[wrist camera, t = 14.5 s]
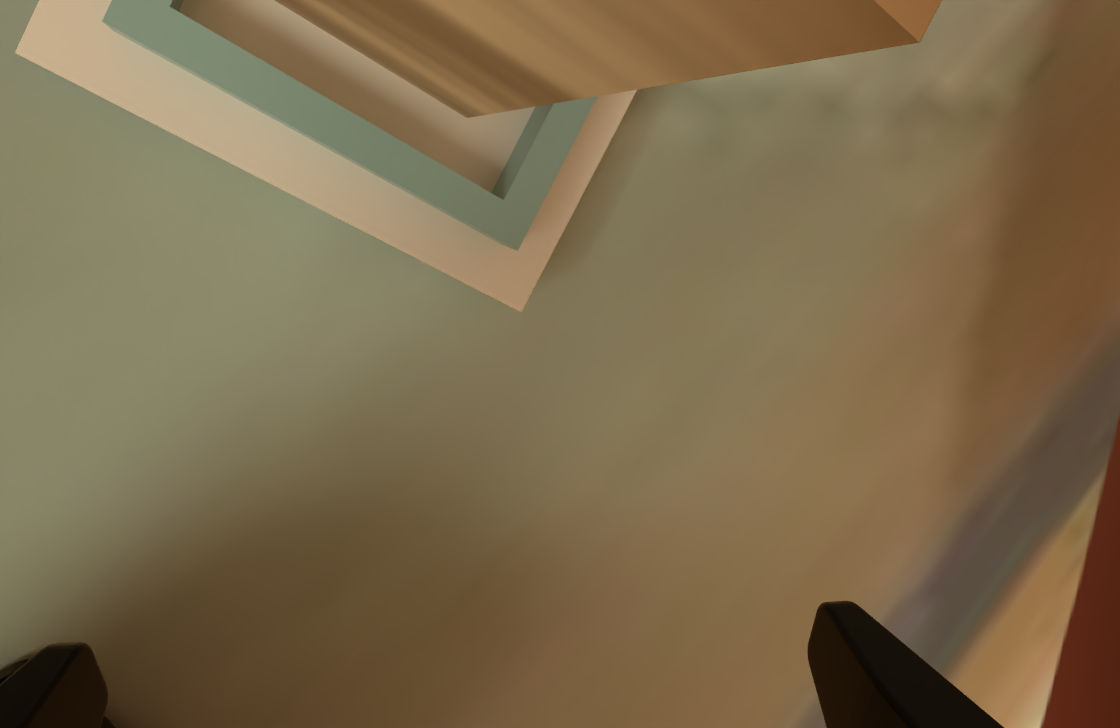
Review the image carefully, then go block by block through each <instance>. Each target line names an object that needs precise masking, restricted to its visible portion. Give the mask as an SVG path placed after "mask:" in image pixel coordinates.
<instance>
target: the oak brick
mask: <svg viewBox="0 0 1120 728" xmlns="http://www.w3.org/2000/svg"><path fill="white" fill-rule="evenodd" d="M275 1H276V2H278V3H279V4H281V5H283V6H284V7H286V8H288V9H289V10H291V11H293V12H294V13H296V14H297V15H299V16H301V17H302V18H304V19H306V20H307V21H309V22H311V23H312V24H314V25H315V26H317V27H319V28H320V29H322V30H324V31H325V32H327V33H329V34H330V35H332V36H333V37H335V38H337V39H338V40H340V41H342V42H343V43H345V44H346V45H348V46H350V47H351V48H353V49H355V50H356V51H358V52H360V53H361V54H363V55H364V56H366V57H368V58H369V59H371V60H373V61H374V62H376V63H378V64H379V65H381V66H382V67H384V68H386V69H387V70H389V71H391V72H392V73H394V74H396V75H397V76H399V77H400V78H402V79H404V80H405V81H407V82H409V83H410V84H412V85H414V86H415V87H417V88H418V89H420V90H422V91H423V92H425V93H427V94H428V95H430V96H432V97H433V98H435V99H436V100H438V101H440V102H441V103H443V104H445V105H446V106H448V107H450V108H451V109H453V110H454V111H456V112H458V113H459V114H461V115H463V116H464V117H466V118H471V117H477V116H483V115H488V114H494V113H500V112H506V111H512V110H518V109H524V108H530V107H536V106H542V105H548V104H554V103H560V102H566V101H572V100H578V99H584V98H590V97H596V96H602V95H608V94H614V93H620V92H626V91H632V90H638V89H644V88H650V87H656V86H662V85H668V84H674V83H679V82H685V81H691V80H697V79H703V78H709V77H715V76H721V75H727V74H733V73H739V72H745V71H751V70H757V69H763V68H769V67H775V66H781V65H787V64H793V63H799V62H805V61H811V60H817V59H823V58H829V57H835V56H841V55H847V54H853V53H859V52H865V51H871V50H876V49H882V48H888V47H894V46H900V45H906V44H912V43H918V42H920V40H921V39H922V37H923V35H924V33H925V31H926V29H927V27H928V26H929V24H930V22H931V20H932V18H933V16H934V14H935V13H936V11H937V9H938V7H939V5H940V3H941V1H942V0H275Z"/></svg>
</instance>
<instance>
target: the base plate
mask: <svg viewBox="0 0 1120 728" xmlns="http://www.w3.org/2000/svg"><path fill="white" fill-rule="evenodd" d="M15 53H16V54H18V55H20V56H22V57H24V58H26V59H28V60H30V61H32V62H34V63H36V64H38V65H40V66H42V67H44V68H46V69H48V70H50V71H51V72H53V73H55V74H57V75H59V76H61V77H63V78H65V79H67V80H69V81H71V82H73V83H75V84H77V85H79V86H81V87H83V88H85V89H87V90H89V91H90V92H92V93H94V94H96V95H98V96H100V97H102V98H104V99H106V100H108V101H110V102H112V103H114V104H116V105H118V106H120V107H122V108H124V109H126V110H128V111H129V112H131V113H133V114H135V115H137V116H139V117H141V118H143V119H145V120H147V121H149V122H151V123H153V124H155V125H157V126H159V127H161V128H163V129H165V130H167V131H168V132H170V133H172V134H174V135H176V136H178V137H180V138H182V139H184V140H186V141H188V142H190V143H192V144H194V145H196V146H198V147H200V148H202V149H204V150H206V151H207V152H209V153H211V154H213V155H215V156H217V157H219V158H221V159H223V160H225V161H227V162H229V163H231V164H233V165H235V166H237V167H239V168H241V169H243V170H245V171H246V172H248V173H250V174H252V175H254V176H256V177H258V178H260V179H262V180H264V181H266V182H268V183H270V184H272V185H274V186H276V187H278V188H280V189H282V190H284V191H285V192H287V193H289V194H291V195H293V196H295V197H297V198H299V199H301V200H303V201H305V202H307V203H309V204H311V205H313V206H315V207H317V208H319V209H321V210H323V211H324V212H326V213H328V214H330V215H332V216H334V217H336V218H338V219H340V220H342V221H344V222H346V223H348V224H350V225H352V226H354V227H356V228H358V229H360V230H362V231H363V232H365V233H367V234H369V235H371V236H373V237H375V238H377V239H379V240H381V241H383V242H385V243H387V244H389V245H391V246H393V247H395V248H397V249H399V250H401V251H402V252H404V253H406V254H408V255H410V256H412V257H414V258H416V259H418V260H420V261H422V262H424V263H426V264H428V265H430V266H432V267H434V268H436V269H438V270H440V271H441V272H443V273H445V274H447V275H449V276H451V277H453V278H455V279H457V280H459V281H461V282H463V283H465V284H467V285H469V286H471V287H473V288H475V289H477V290H479V291H480V292H482V293H484V294H486V295H488V296H490V297H492V298H494V299H496V300H498V301H500V302H502V303H504V304H506V305H508V306H510V307H512V308H514V309H516V310H518V311H519V312H522V310H523V308H524V307H525V305H526V303H527V301H528V299H529V297H530V295H531V293H532V291H533V289H534V287H535V285H536V283H537V282H538V280H539V278H540V276H541V274H542V272H543V270H544V268H545V266H546V264H547V262H548V260H549V258H550V257H551V255H552V253H553V251H554V249H555V247H556V245H557V243H558V241H559V239H560V237H561V235H562V234H563V232H564V230H565V228H566V226H567V224H568V222H569V220H570V218H571V216H572V214H573V212H574V210H575V209H576V207H577V205H578V203H579V201H580V199H581V197H582V195H583V193H584V191H585V189H586V187H587V185H588V184H589V182H590V180H591V178H592V176H593V174H594V172H595V170H596V168H597V166H598V164H599V162H600V160H601V159H602V157H603V155H604V153H605V151H606V149H607V147H608V145H609V143H610V141H611V139H612V137H613V136H614V134H615V132H616V130H617V128H618V126H619V124H620V122H621V120H622V118H623V116H624V114H625V112H626V111H627V109H628V107H629V105H630V103H631V101H632V99H633V97H634V95H635V93H636V91H637V90H632V91H626V92H620V93H614V94H608V95H602V96H596V97H590V98H584V99H578V100H572V101H566V102H560V103H554V104H548V105H542V106H536V107H530V108H524V109H518V110H512V111H506V112H500V113H494V114H488V115H483V116H477V117H471V118H466V117H464V116H463V115H461V114H459V113H458V112H456V111H454V110H453V109H451V108H450V107H448V106H446V105H445V104H443V103H441V102H440V101H438V100H436V99H435V98H433V97H432V96H430V95H428V94H427V93H425V92H423V91H422V90H420V89H418V88H417V87H415V86H414V85H412V84H410V83H409V82H407V81H405V80H404V79H402V78H400V77H399V76H397V75H396V74H394V73H392V72H391V71H389V70H387V69H386V68H384V67H382V66H381V65H379V64H378V63H376V62H374V61H373V60H371V59H369V58H368V57H366V56H364V55H363V54H361V53H360V52H358V51H356V50H355V49H353V48H351V47H350V46H348V45H346V44H345V43H343V42H342V41H340V40H338V39H337V38H335V37H333V36H332V35H330V34H329V33H327V32H325V31H324V30H322V29H320V28H319V27H317V26H315V25H314V24H312V23H311V22H309V21H307V20H306V19H304V18H302V17H301V16H299V15H297V14H296V13H294V12H293V11H291V10H289V9H288V8H286V7H284V6H283V5H281V4H279V3H278V2H276V1H275V0H39V2H38V4H37V7H36V9H35V11H34V13H33V15H32V17H31V19H30V22H29V24H28V26H27V28H26V30H25V32H24V34H23V37H22V39H21V41H20V43H19V45H18V47H17V49H16V51H15Z"/></svg>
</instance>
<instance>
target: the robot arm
mask: <svg viewBox="0 0 1120 728" xmlns="http://www.w3.org/2000/svg"><path fill="white" fill-rule="evenodd" d="M808 661H809V665H810V669H811V673H812V676H813V680H814V683H815V687H816V691H817V694H818V698H819V701H820V705H821V709H822V712H823V716H824V720H825V723H826V727H827V728H1004V727H1003V726H1001V725H1000V724H999V723H998V722H997V721H995V720H994V719H993V718H992V717H991V716H990V715H988V714H987V713H986V712H985V711H984V710H982V709H981V708H980V707H979V706H978V705H976V704H975V703H974V702H973V701H972V700H970V699H969V698H968V697H967V696H966V695H964V694H963V693H962V692H961V691H960V690H959V689H957V688H956V687H955V686H954V685H953V684H951V683H950V682H949V681H948V680H947V679H945V678H944V677H943V676H942V675H941V674H939V673H938V672H937V671H936V670H935V669H933V668H932V667H931V666H930V665H929V664H927V663H926V662H925V661H924V660H923V659H922V658H920V657H919V656H918V655H917V654H916V653H914V652H913V651H912V650H911V649H910V648H908V647H907V646H906V645H905V644H904V643H902V642H901V641H900V640H899V639H898V638H896V637H895V636H894V635H893V634H892V633H891V632H889V631H888V630H887V629H886V628H885V627H883V626H882V625H881V624H880V623H879V622H877V621H876V620H875V619H874V618H873V617H871V616H870V615H869V614H868V613H867V612H865V611H864V610H863V609H862V608H861V607H859V606H858V605H857V604H855V603H853V602H850V601H835V602H824V603H822V604H821V605H820V606H819V607H818V610H817V613H816V616H815V620H814V624H813V627H812V631H811V635H810V639H809V642H808ZM107 698H108V692H107V686H106V683H105V681H104V678H103V676H102V673H101V671H100V668H99V666H98V664H97V661H96V659H95V656H94V654H93V651H92V649H91V648H90V646H88V645H87V644H86V643H81V642H79V643H60V644H52V645H49V646H47V647H45V648H44V649H42V650H41V651H40V652H38V653H37V654H36V655H35V656H33V657H32V658H31V659H30V660H23V661H21V662H18V663H15V664H14V665H12V666H10V667H8V668H6V669H5V670H3V671H1V672H0V728H115V727H114V726H113V725H112V723H111V722H110V721H109V720H108V719H107V718H106V717H105V716H104V713H105V710H106V705H107Z"/></svg>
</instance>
